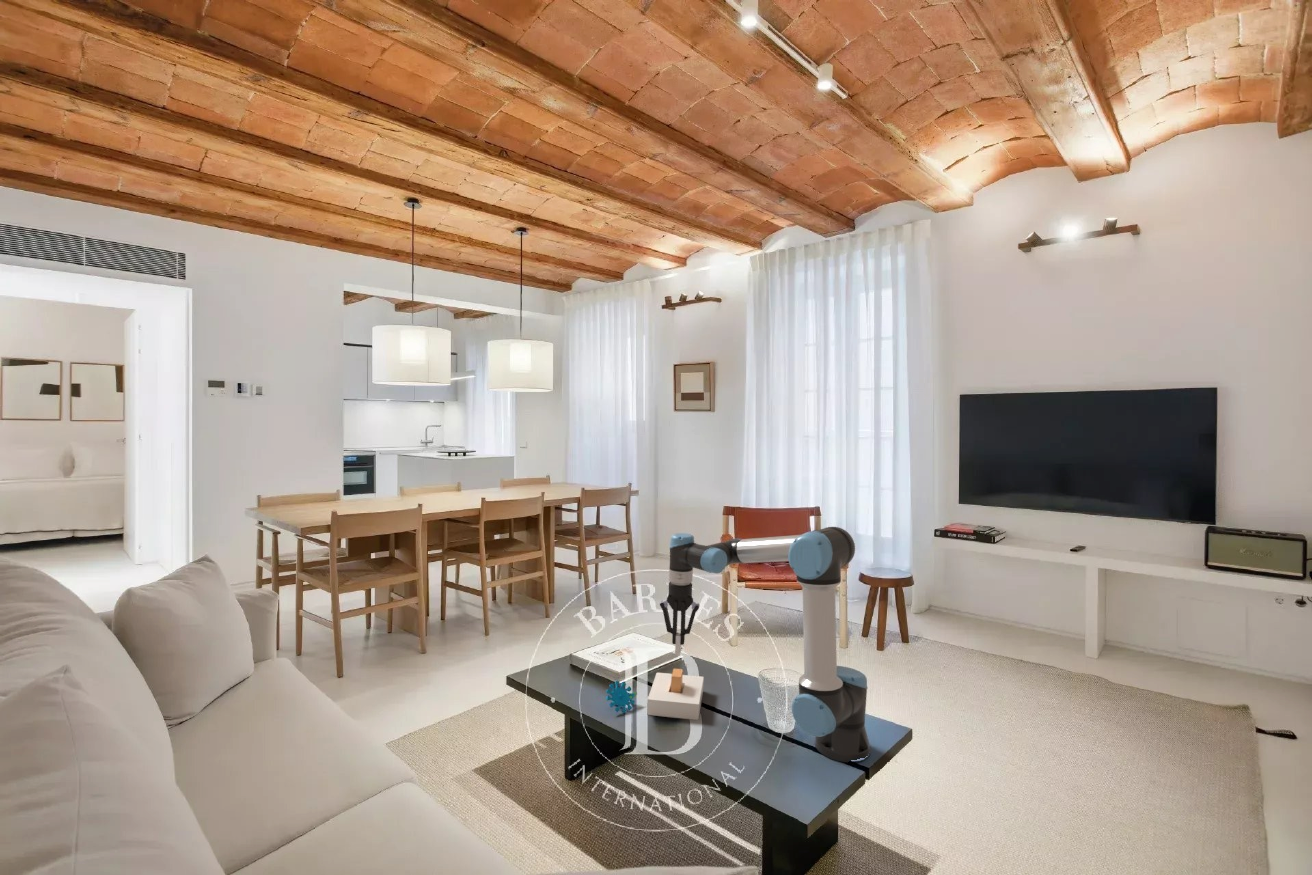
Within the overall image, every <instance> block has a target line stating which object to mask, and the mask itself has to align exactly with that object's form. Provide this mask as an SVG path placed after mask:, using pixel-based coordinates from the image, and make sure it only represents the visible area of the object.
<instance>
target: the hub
mask: <svg viewBox="0 0 1312 875" xmlns="http://www.w3.org/2000/svg"><path fill="white" fill-rule="evenodd" d="M671 677H672V673H668V672H667V673H666V672H656V674H655V676H654V680H653V682H652V686H651V689H650V692H649V694H648V697H647V703H646V704H647V705H646V706H647V708H646V710H647V711H646V715H647V716H655V717H656V716H657V717H667V718H673V719H685V720H693V721H699V718H700V713H701V706H702V700H703V693H704V681H705V680H704V678H705V676H700V675H699V676H698V675H689V674H688V675H686V674H683V677H682V693H673V692H671Z"/></svg>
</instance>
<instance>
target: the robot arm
mask: <svg viewBox="0 0 1312 875" xmlns="http://www.w3.org/2000/svg"><path fill="white" fill-rule="evenodd" d="M855 553H856V545H855V540H854V539H853V537H852V535H851V534H850V533H849V532H848V531H846V529H844V528H841V527H839V526H828V527H824V528H822V529H814V530H811V531H806V532H805V533H802V534H795V535H794V534H793V535H783V536H782V535H780V536H768V537H755V538H745V539H743V538H731V539H729V540H725V541H721V542H718V543H712V544H708V545H704V544H699V543H697V542H695V537H694V535H692V534H690V533H684V532H680V533H679V532H678V533H673V534H672V535H671V537H670V542H669V567H668V568H669V570H668V572H669V573H668V580H669V582H668V595H667V597H666V599H664V600H661V601H660V603H659V607H660V608H661V610H662V613H663V617H664V618H663V619H664V624H665V627H666V632H667V633H670V634H671V635H672V638H671V640H672V641H671V643H672V645H675V648H674V650H675V653H674V656H679V657H680V655H681V653H682V652H681V651H682V645H683V646H684V645H685V638H686V637H685V636H686V635H689V634H690V633H691V629H692V627H693V622H694V620H695V617H696V613H697V612H698V610H699V609H700V603H698V602H697V603H696V602H695V601H694V598H693V583H692V582H693V573H694V569H697V570H700V571H704V572H706V573H709V574H720V573H722V572H723V570H725V569H726V567H727V566H730V565H734V564H735V565H736V564H749V563H750V564H752V563H754V564H755V563H769V562H770V563H773V562H788V564H789V567H790V568H791V569H792V570H793V572H794V574H795V575H796V582H797V583H798V584H799V585H800V586H801V588H802V617H803V618H802V621H803V623H802V624H803V625H802V626H803V630H802V632H803V664H804V665H803V668H804V669H803V670H804V671H803V674H802V675H801V676H800V677H799V679H798V694H797V695H796V696H795V697H794V699H793V701H792V703H791V714H792V717H793V719H794V722H795V723H796V724H797V725H799V728H800V729H801V730H802V731H803V732H804V733H806V734H807V735H809V736H811V737H815V739H814V741H815V742H814V745H815V746H814V747H815V748H816V749H817V751H818V752H819V753H820V754H821V755H823V756H825V757H827V758H828V759H831V760H833V761H837V762H842V763H848V762H849V761H851V760H857V759H860V758H865V757H866V756H868V754H869V752H870V750H871V746H870V740H869V737H868V736H869V735H868V734H867V730H866V727H865V726H866V725H865V724H866V722H865V721H866V712H867V711H866V710H867V708H866V707H867V694H868V678H867V676H866V674H864V673H863V672H862V671H860V670H857V669H854V668H851V667H848V666H843V665H838V664H837V662H838V660H837V659H838V658H837V623H836V622H837V621H836V620H837V618H836V617H837V615H836V612H837V610H836V607H837V606H836V588H837V587H838V586H839V585H840V584H841V583H842V576H841V575H842V574H841V573H842V572H841V571H842V568H844V567H846V566H847V565H849V564H850V563H851V562H852V560H853V558H854V556H855ZM668 605H669V606H670V608H671V609H672V623H671V618H670V615H669V609H668ZM690 607H691V609H692V610H691V614H690V617H689V620H688V624H687V627H686V614H687V612H686V611H687V610H688V609H689V608H690ZM678 612H680V632H678V615H679V613H678ZM869 755H870V754H869Z"/></svg>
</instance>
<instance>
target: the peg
mask: <svg viewBox="0 0 1312 875" xmlns="http://www.w3.org/2000/svg"><path fill="white" fill-rule="evenodd" d="M683 670H684V669H682V668H673V669H672V673H671V674H672V677H671V692H673V693H682V677H683V675H684V673H683Z"/></svg>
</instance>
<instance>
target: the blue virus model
mask: <svg viewBox="0 0 1312 875" xmlns="http://www.w3.org/2000/svg"><path fill="white" fill-rule="evenodd" d="M620 683H621V684H620ZM619 685H620V687H619ZM614 686H615V687H614ZM626 686H627V683H626V682H624V681H623V682H620V681H618V680H616V681H615V682H614V683H613V682H612V683H610V684H609V686H608V687H609V688H607V689H606V690H605V693H606V694H608V695H606V697H605V698H606V701H607V702H609V701H612V702H609V703H608V704H609V707H610V708H613V707H614V706H616V707H615V708H614V710H615V712H617V713H618V712H620V710H621V713H624V714H626V713H627V711H631V710H633V707H632V706H634V704H635V703H636V701H635V700H634V698H635V697H636V696H637V695H638V693H637V691H634V692H632V693H630V692H631V691H632V688H631V686H628V687H627V688H624V687H626ZM626 706H627V707H626ZM621 707H622V709H621Z"/></svg>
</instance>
